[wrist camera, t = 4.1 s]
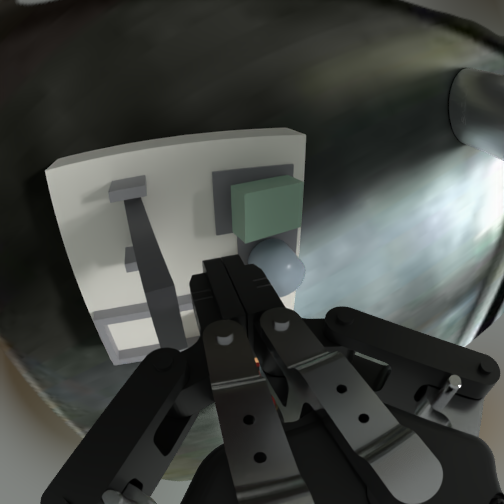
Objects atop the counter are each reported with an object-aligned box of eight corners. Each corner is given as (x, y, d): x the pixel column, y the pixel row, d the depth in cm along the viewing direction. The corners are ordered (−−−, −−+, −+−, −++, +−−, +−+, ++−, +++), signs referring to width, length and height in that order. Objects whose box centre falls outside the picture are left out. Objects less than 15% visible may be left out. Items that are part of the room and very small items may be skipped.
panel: (286, 127, 21) (322, 141, 17) (279, 301, 29) (301, 338, 25) (57, 158, 17) (34, 181, 12) (111, 335, 25) (111, 379, 21)
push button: (291, 235, 21) (307, 252, 19) (289, 272, 23) (303, 291, 21) (247, 242, 21) (259, 261, 19) (248, 281, 22) (259, 302, 20)
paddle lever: (140, 195, 16) (174, 285, 10) (148, 241, 18) (187, 347, 11) (123, 199, 16) (144, 293, 9) (132, 245, 18) (163, 354, 11)
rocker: (287, 174, 19) (303, 181, 18) (285, 217, 21) (300, 227, 19) (230, 185, 17) (244, 194, 16) (232, 232, 19) (245, 243, 18)
